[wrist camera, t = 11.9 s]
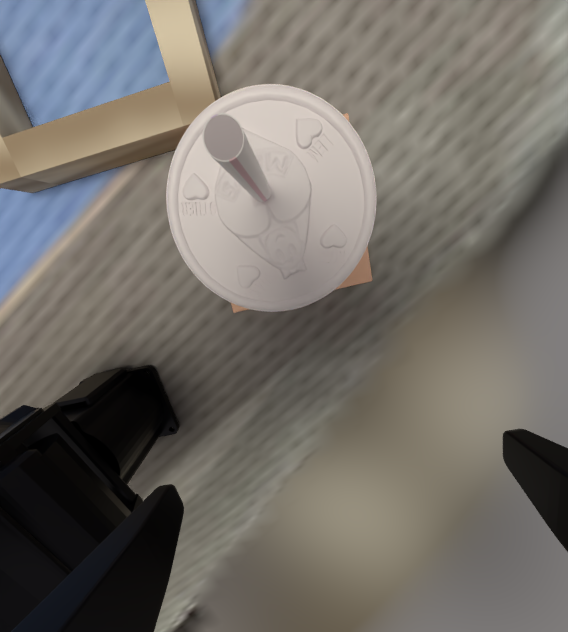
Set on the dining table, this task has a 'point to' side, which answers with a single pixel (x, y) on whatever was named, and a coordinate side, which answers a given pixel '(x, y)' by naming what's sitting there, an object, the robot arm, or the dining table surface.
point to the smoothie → (271, 197)
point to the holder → (113, 113)
